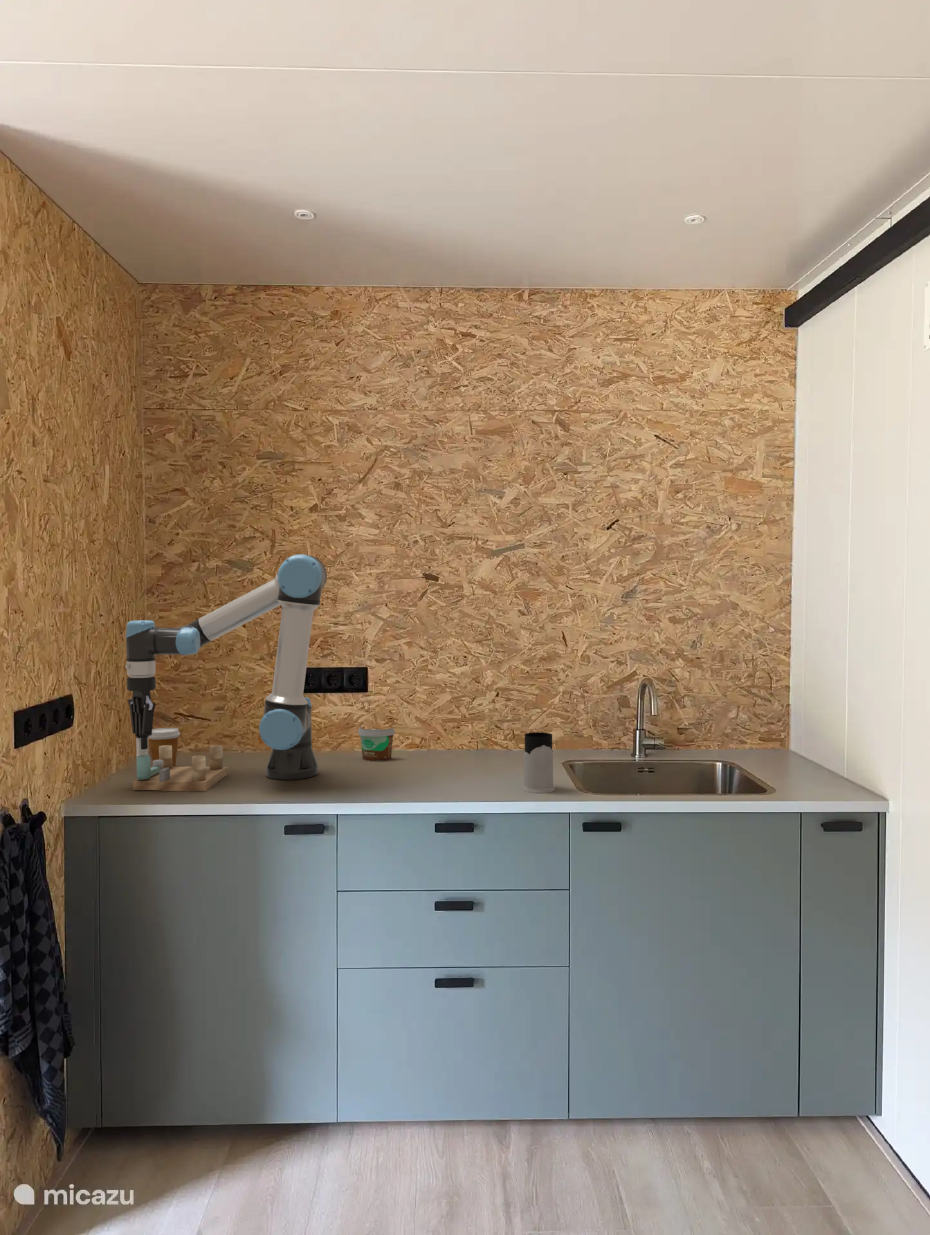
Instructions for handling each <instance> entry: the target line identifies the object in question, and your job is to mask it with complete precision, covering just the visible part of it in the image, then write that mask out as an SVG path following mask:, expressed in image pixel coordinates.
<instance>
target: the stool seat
mask: <svg viewBox="0 0 930 1235" xmlns="http://www.w3.org/2000/svg"><path fill="white" fill-rule="evenodd" d="M223 754H224V753H223V745H220V744H219V745H218V744H217V745H210V746H209V766H207V765H206V763H207V759H206V755H205V754H204V755H203V754H202V755H201V754H199V755H193V756H192V757H191V764H192V765H191V766H175V767H172V746H171V745H163V746H159V760H163V768H170V779H168V780H166V781H165V782H159V773H157V774H155V775H153V776H151V778H149V779H142V780H141V779H135V780H134V781H133V783H132V787H133V788H132V789H133V790H162V791H161V792H206V791H208V790H209V789H211V788H212V787H213V786H214V785H216V784H218V783H219V782H221V781H222V780H223V779H225V778H226V777H228V775H229V772H228V769H229V767H228V766H224V759H223V758H224V757H223ZM225 776H226V777H225ZM222 778H223V779H222ZM221 779H222V780H221ZM218 781H219V782H218ZM210 787H211V788H210ZM133 790H132V791H133Z"/></svg>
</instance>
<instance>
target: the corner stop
mask: <svg viewBox="0 0 930 1235" xmlns="http://www.w3.org/2000/svg"><path fill="white" fill-rule="evenodd" d="M168 779H170V768H163V769H161V770H159V782H165V781H166V780H168Z"/></svg>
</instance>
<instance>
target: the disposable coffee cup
mask: <svg viewBox="0 0 930 1235" xmlns="http://www.w3.org/2000/svg"><path fill="white" fill-rule="evenodd" d="M180 735H181V732H180V731H179V728H175V727H162V728H152V735H151V736H149V737H148V744H149V746H150V748H149V749H150V757H151V760H152V761H151V762H152V763H153V761H154V760H159V746H163V745H171V746H172V767H177V766H176V765H177V764H176V763H177V756H178V746H179V737H180Z"/></svg>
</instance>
